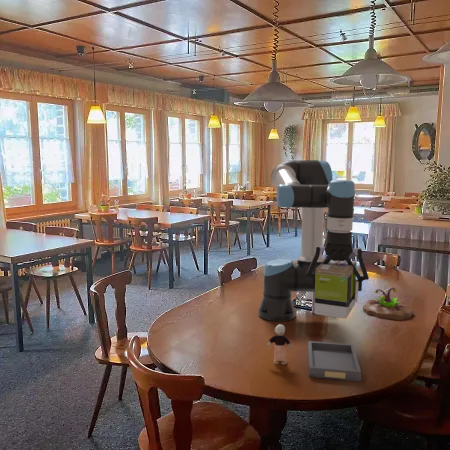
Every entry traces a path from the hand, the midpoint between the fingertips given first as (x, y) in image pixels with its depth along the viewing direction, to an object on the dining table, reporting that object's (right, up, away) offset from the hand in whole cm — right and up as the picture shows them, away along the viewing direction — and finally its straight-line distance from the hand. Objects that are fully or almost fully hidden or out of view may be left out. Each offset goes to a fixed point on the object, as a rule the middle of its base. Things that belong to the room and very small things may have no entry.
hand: (335, 299), depth 140 cm
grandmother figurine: (-17, -21, +4) cm, 28 cm away
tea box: (0, -3, 0) cm, 3 cm away
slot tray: (0, -21, +3) cm, 21 cm away
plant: (+36, -15, +54) cm, 67 cm away
